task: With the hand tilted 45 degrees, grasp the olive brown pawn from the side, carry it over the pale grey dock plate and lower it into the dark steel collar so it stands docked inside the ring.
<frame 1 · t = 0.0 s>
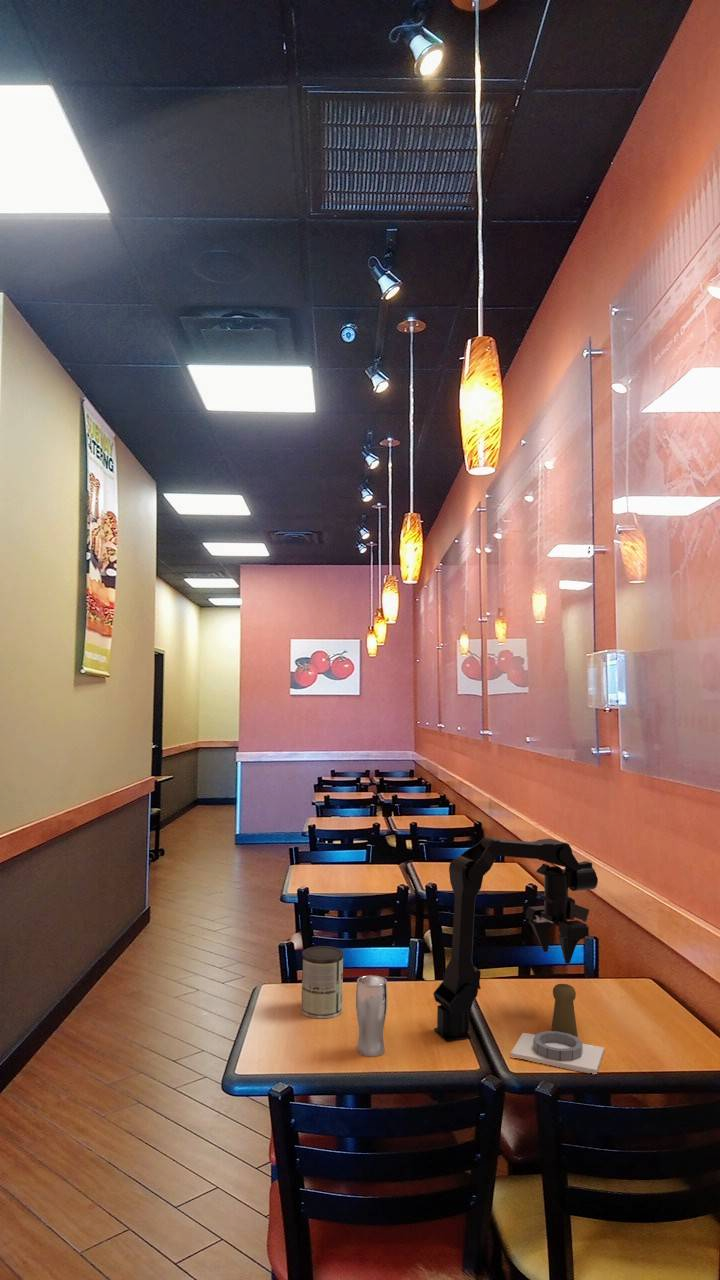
hand: (556, 957, 197), 15 cm above the table, tool pointing down, fingers open, 9 cm apart
coffee can: (321, 1011, 199), on the table
olive brown pawn: (564, 1035, 188), on the table
dock: (557, 1055, 177), on the table
beer glass: (370, 1051, 177), on the table
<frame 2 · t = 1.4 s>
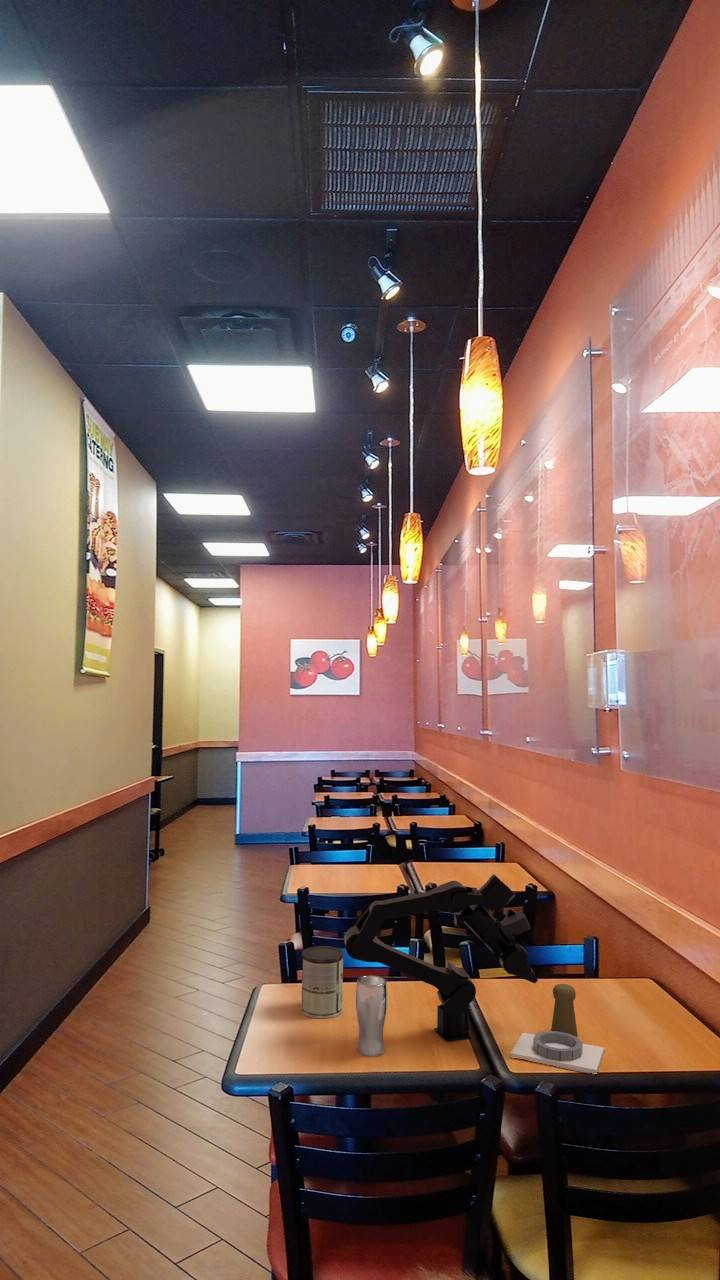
hand: (530, 974, 188), 13 cm above the table, tool tilted 45°, fingers open, 9 cm apart
nothing on the table moved.
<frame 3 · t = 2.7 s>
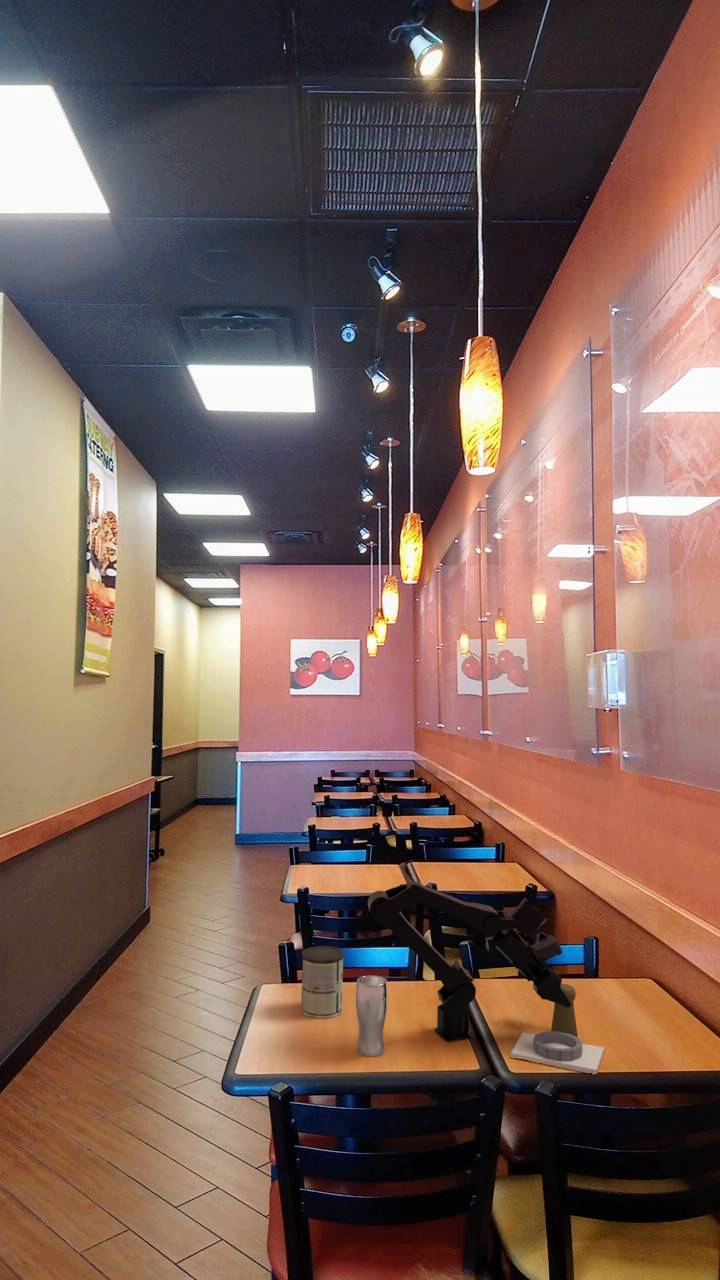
hand: (563, 998, 188), 8 cm above the table, tool tilted 45°, fingers open, 9 cm apart
nothing on the table moved.
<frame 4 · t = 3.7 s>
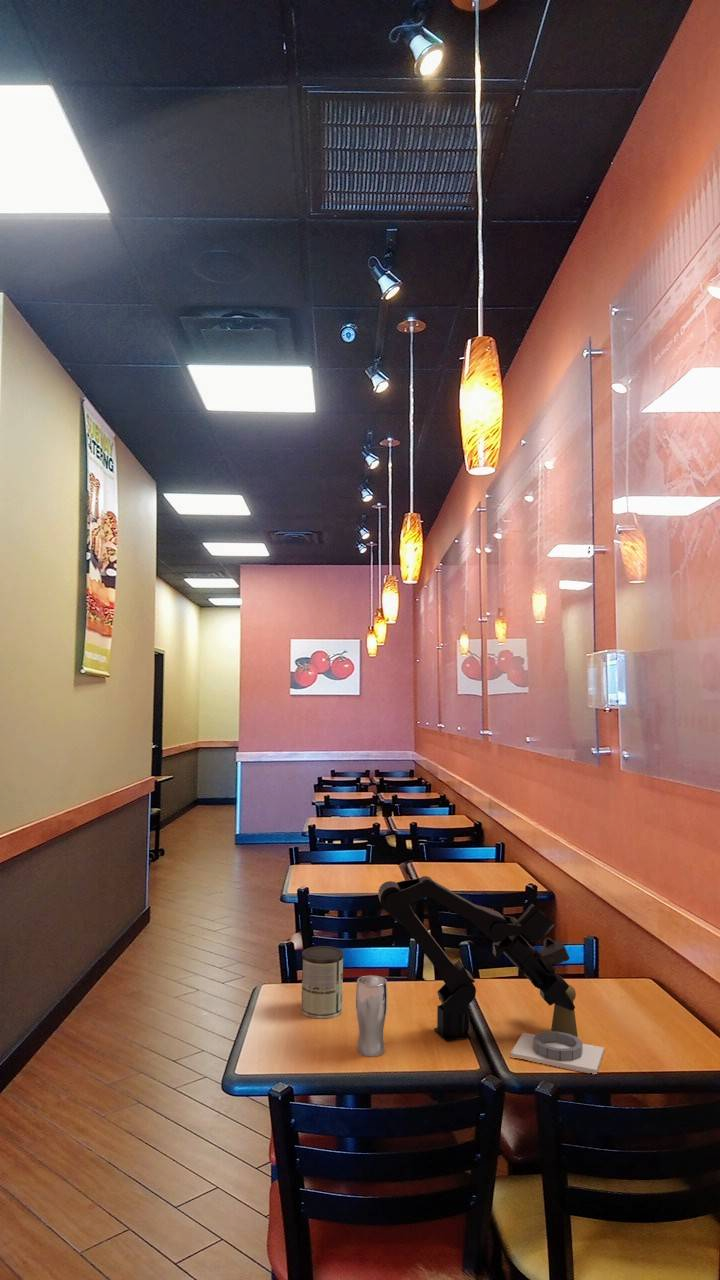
hand: (570, 1004, 188), 7 cm above the table, tool tilted 45°, fingers closed on olive brown pawn, 5 cm apart
olive brown pawn: (564, 1034, 188), on the table, touching gripper
everything else where it was.
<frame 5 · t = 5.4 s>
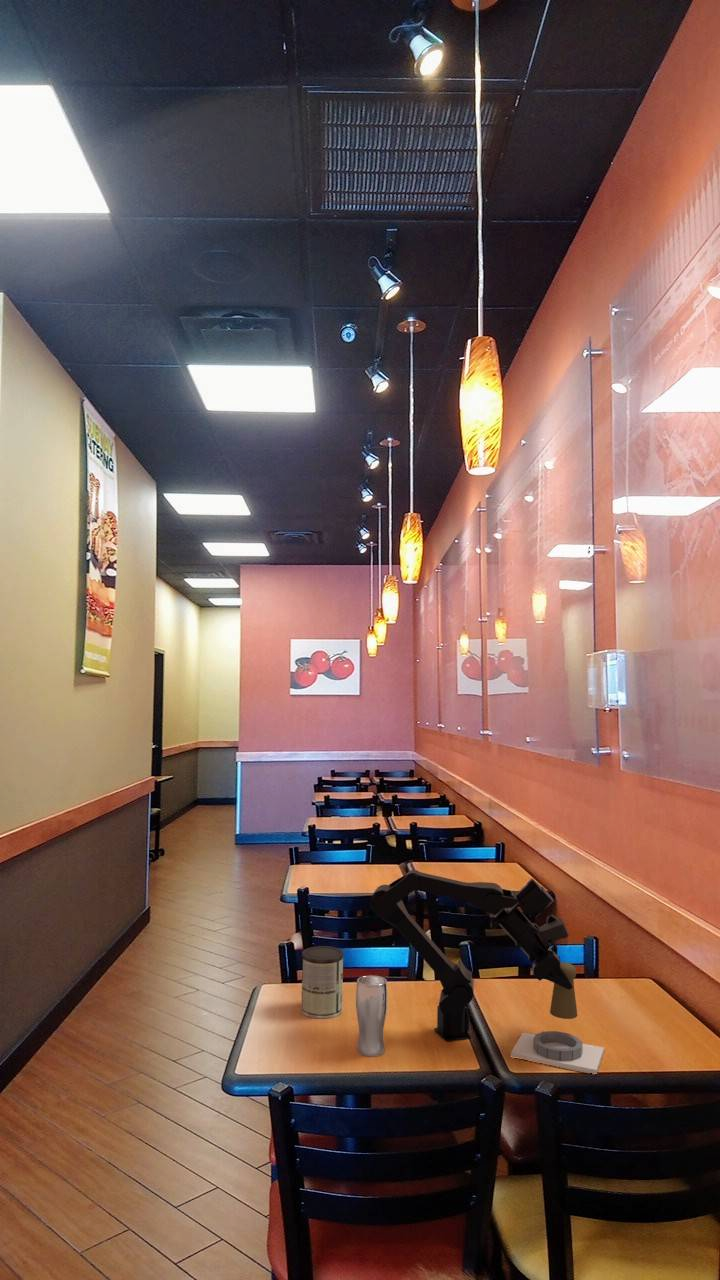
hand: (570, 984, 183), 13 cm above the table, tool tilted 45°, fingers closed on olive brown pawn, 5 cm apart
olive brown pawn: (563, 1014, 183), point 6 cm above the table, touching gripper
everything else where it was.
when the fingers open (9 cm above the table, at t = 7.1 s): olive brown pawn drops 1 cm, resting on dock.
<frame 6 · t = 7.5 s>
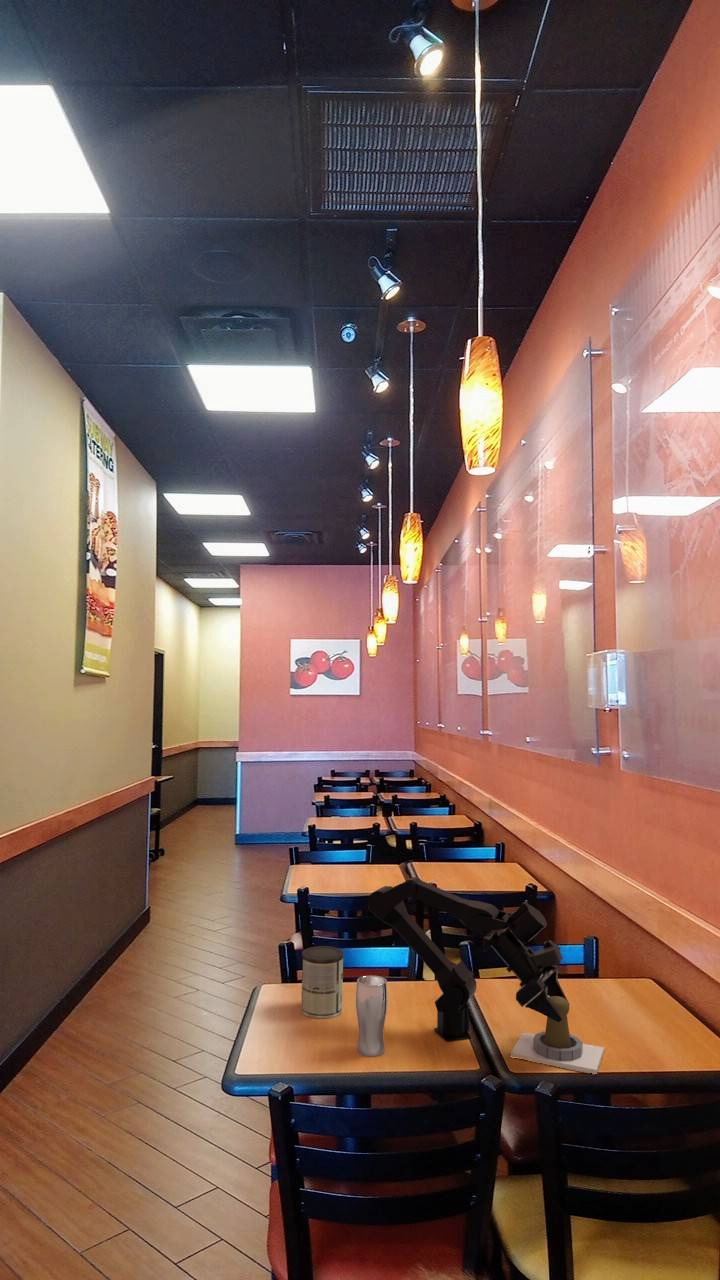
hand: (564, 1013, 177), 9 cm above the table, tool tilted 45°, fingers open, 9 cm apart
olive brown pawn: (557, 1050, 177), point 1 cm above the table, touching dock
everything else where it was.
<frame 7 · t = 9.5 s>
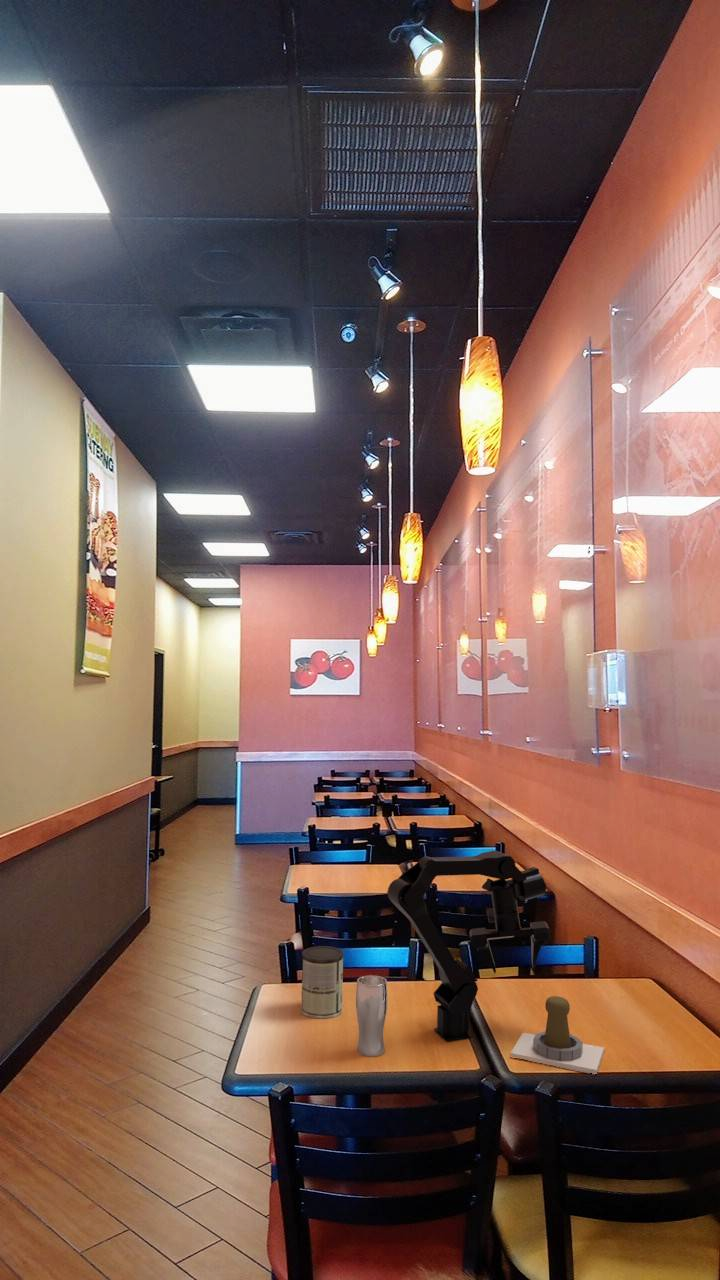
hand: (514, 970, 193), 13 cm above the table, tool pointing down, fingers open, 9 cm apart
nothing on the table moved.
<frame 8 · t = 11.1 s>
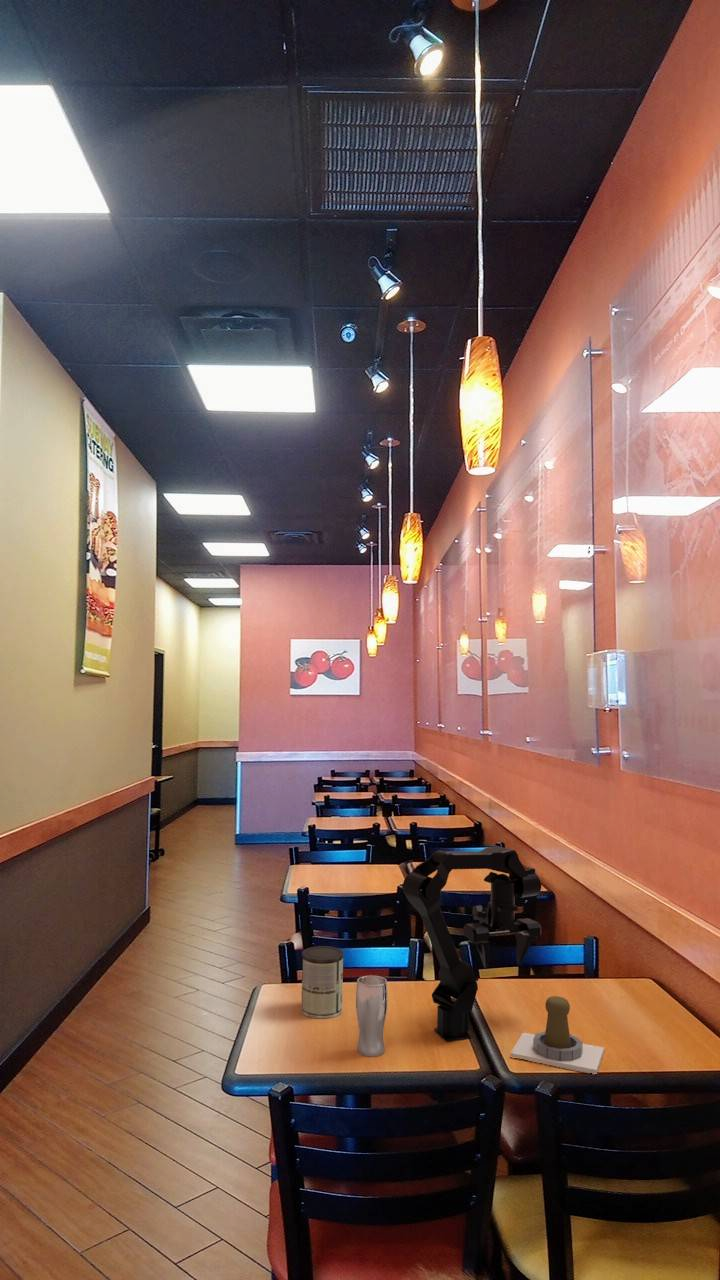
hand: (502, 966, 195), 13 cm above the table, tool pointing down, fingers open, 9 cm apart
nothing on the table moved.
at the end: olive brown pawn 0.2 cm from the dock (horizontally); olive brown pawn tilted 0°; the gripper is holding nothing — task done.
